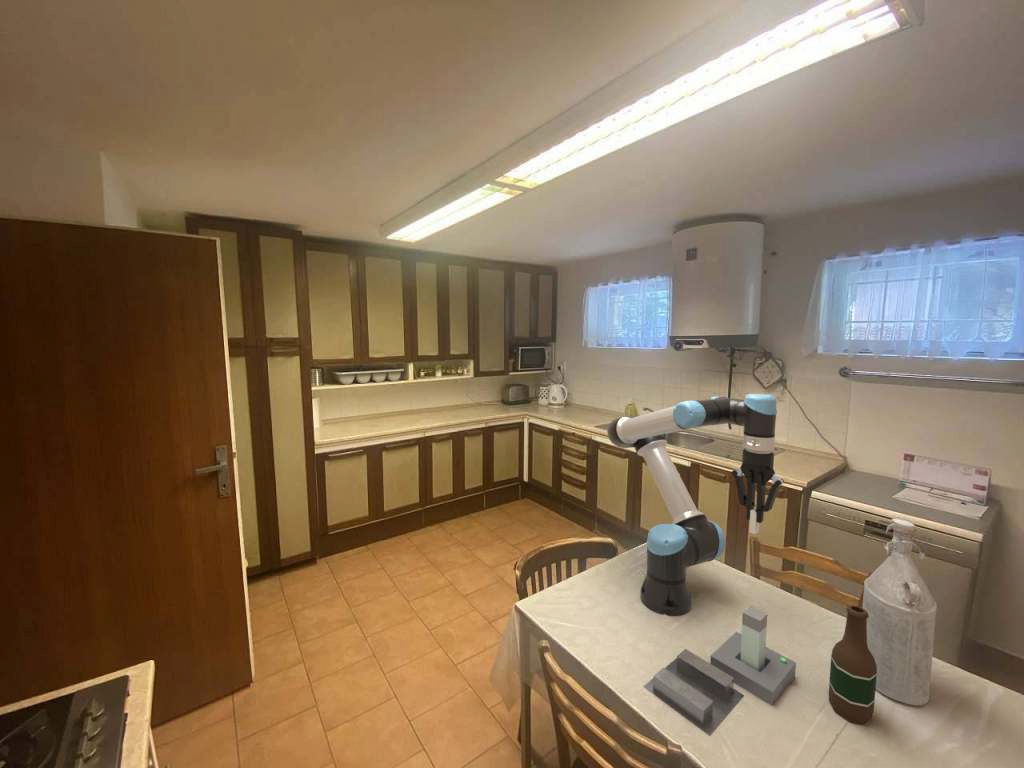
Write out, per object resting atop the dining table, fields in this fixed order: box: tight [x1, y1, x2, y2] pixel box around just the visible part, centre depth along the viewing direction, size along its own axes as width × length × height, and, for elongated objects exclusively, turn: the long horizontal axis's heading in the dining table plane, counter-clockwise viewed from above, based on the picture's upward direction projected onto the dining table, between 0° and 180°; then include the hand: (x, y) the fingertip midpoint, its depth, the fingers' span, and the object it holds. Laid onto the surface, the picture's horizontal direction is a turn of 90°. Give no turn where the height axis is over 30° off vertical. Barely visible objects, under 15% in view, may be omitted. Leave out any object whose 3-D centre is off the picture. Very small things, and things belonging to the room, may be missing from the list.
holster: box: [643, 648, 745, 737], centre depth 98 cm, size 16×16×4 cm
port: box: [709, 631, 797, 706], centre depth 103 cm, size 14×14×5 cm
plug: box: [740, 605, 768, 672], centre depth 103 cm, size 4×4×16 cm
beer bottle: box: [828, 604, 877, 726], centre depth 92 cm, size 8×8×24 cm
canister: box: [861, 518, 938, 706], centre depth 99 cm, size 13×17×40 cm
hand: (754, 531), depth 118 cm, fingers closed
